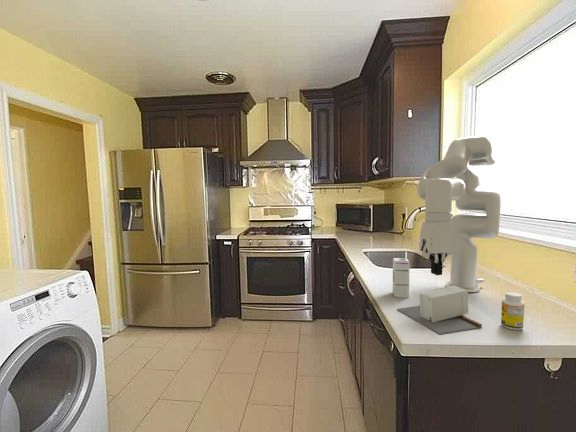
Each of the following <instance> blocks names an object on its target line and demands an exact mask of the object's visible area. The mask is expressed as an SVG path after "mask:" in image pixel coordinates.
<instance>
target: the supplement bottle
mask: <svg viewBox="0 0 576 432" xmlns="http://www.w3.org/2000/svg"><path fill="white" fill-rule="evenodd" d="M504 296H505V297H504V298H502V300H501V312H500V313H501V314H500V324H501V326H503V327H504V328H506V329H508V328H509V329H510V330H512V329H513V331H521V330H523V328H524V321H525V320H524V319H525V318H524V317H525V302H524V301H523V300H522V295H521V293H517V292H511V291H507V292H505V295H504ZM509 329H508V330H509Z"/></svg>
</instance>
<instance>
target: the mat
mask: <svg viewBox="0 0 576 432" xmlns="http://www.w3.org/2000/svg"><path fill="white" fill-rule="evenodd" d="M396 310H397V311H398V312H400V313H401V314H403V315H405V316H407V317H408V318H410V319H412V320H414V321H415V322H417V323H419V324H420V325H422V326H424V327H426V328H427V329H428V330H431V331H432V332H434V333H436V334H438V335H445V334H451V333H452V334H453V333H459V332H464V331H466V332H467V331H471V330H478V329H479V328H478V327H476V326H474V325H472V324H470V323H468V322H466V321H464V320H461V319H459V318H457V317H452V318H449V319H445V320H441V321H437V322H434V323H433V322H431V321H429V320H427V319H425V318H423V317H421V316H420V305H415V306H407V307H400V308H396Z"/></svg>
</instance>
